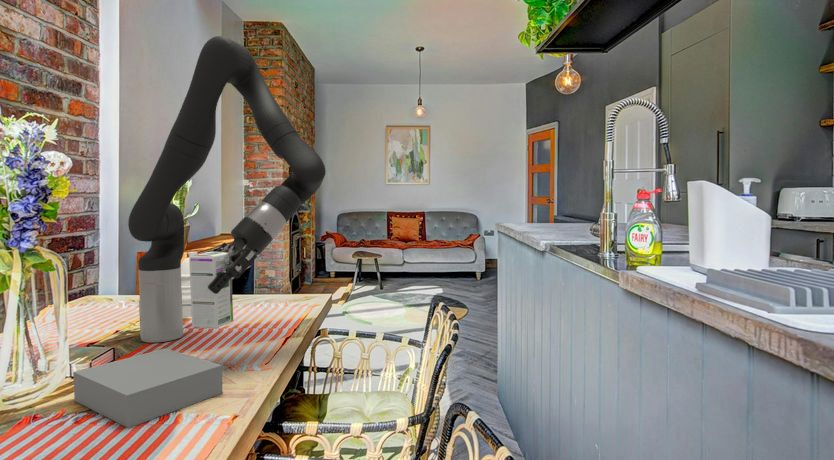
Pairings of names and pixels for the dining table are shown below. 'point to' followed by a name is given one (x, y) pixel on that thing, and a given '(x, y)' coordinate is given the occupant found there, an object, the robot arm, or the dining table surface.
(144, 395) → the block
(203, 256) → the syrup box
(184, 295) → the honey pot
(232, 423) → the dining table surface
